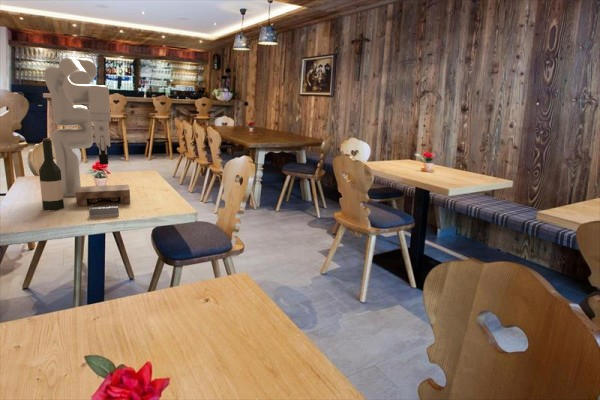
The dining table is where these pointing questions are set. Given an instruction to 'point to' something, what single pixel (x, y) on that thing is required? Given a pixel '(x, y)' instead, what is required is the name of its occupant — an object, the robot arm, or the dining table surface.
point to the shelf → (102, 194)
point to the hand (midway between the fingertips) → (104, 164)
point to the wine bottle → (50, 180)
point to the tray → (104, 210)
